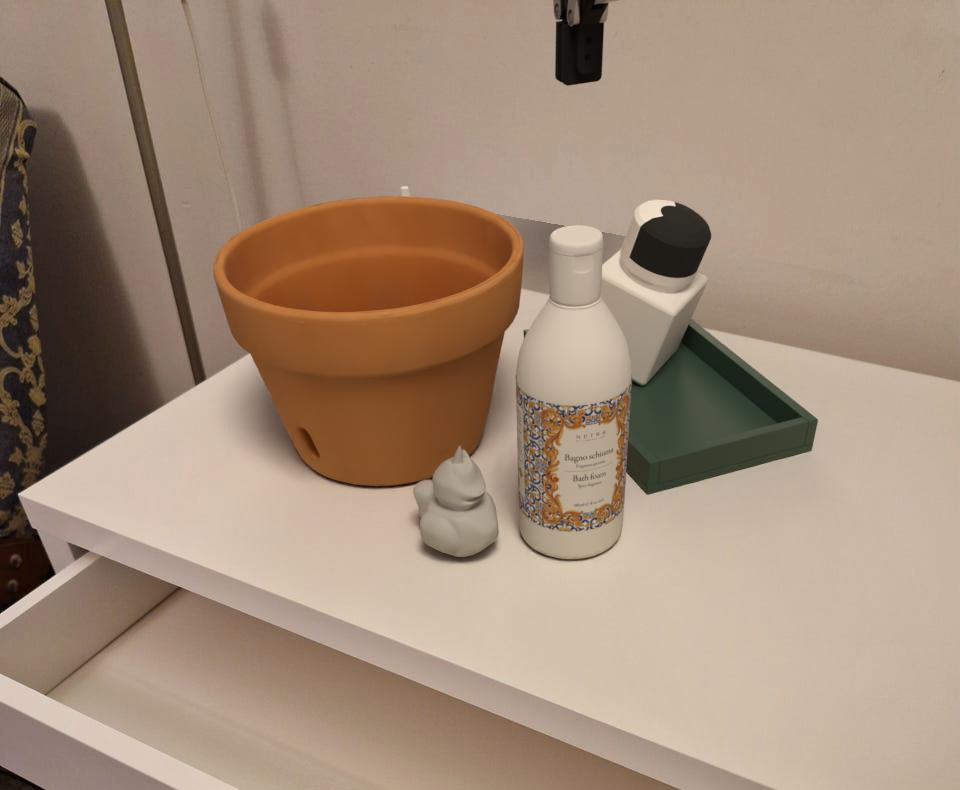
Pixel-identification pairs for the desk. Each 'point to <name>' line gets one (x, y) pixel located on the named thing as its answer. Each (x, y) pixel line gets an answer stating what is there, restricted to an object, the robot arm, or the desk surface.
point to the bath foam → (573, 408)
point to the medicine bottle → (656, 282)
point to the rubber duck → (456, 508)
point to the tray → (709, 417)
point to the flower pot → (375, 327)
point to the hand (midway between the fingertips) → (578, 80)
